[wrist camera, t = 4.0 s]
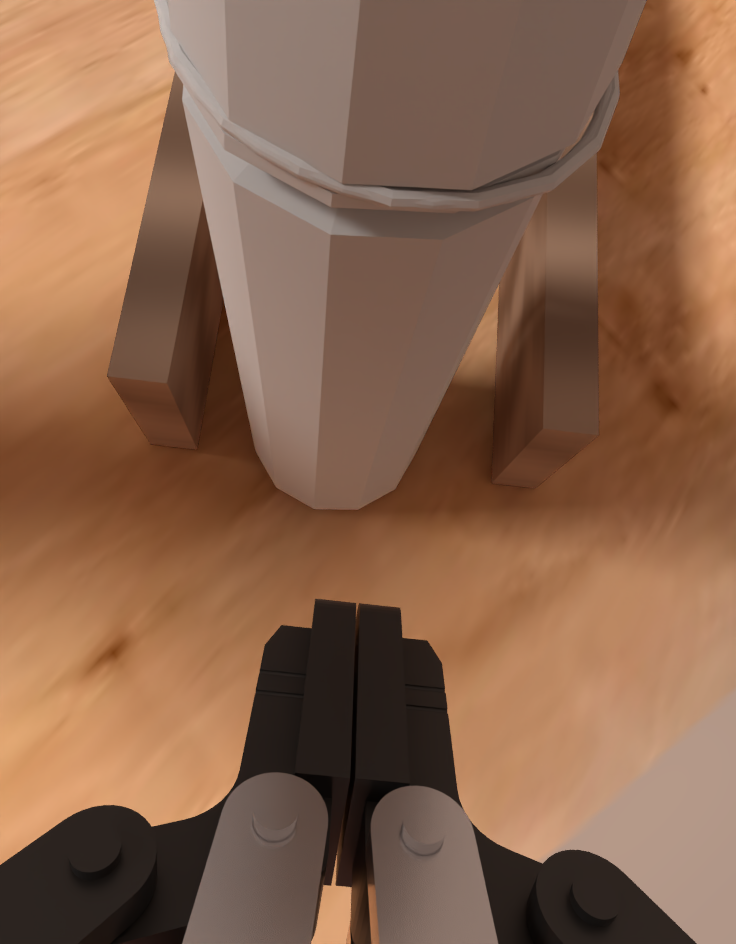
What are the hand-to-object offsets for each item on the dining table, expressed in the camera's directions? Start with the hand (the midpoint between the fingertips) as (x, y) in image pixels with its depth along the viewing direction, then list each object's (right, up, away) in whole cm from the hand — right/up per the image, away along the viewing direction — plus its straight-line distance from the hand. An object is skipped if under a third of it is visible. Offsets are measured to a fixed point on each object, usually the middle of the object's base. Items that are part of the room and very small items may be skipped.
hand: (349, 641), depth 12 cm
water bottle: (0, +5, +19) cm, 20 cm away
